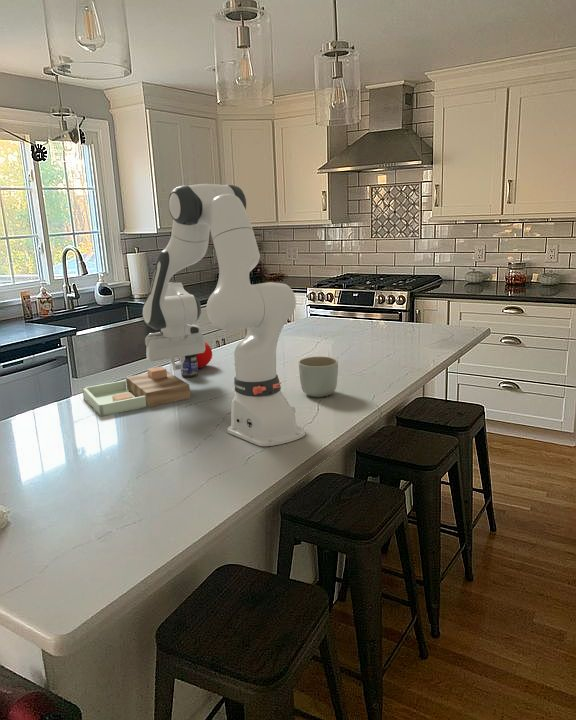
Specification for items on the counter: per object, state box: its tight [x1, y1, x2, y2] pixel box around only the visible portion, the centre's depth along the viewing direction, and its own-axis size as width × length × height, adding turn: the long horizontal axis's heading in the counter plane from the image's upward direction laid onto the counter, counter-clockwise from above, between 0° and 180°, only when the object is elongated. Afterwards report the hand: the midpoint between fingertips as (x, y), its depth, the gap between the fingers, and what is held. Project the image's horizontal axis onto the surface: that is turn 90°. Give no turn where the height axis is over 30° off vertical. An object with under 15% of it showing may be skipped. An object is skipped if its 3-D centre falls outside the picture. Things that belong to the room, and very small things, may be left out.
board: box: [125, 370, 191, 408], centre depth 195 cm, size 22×14×4 cm, turn 31°
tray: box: [81, 379, 147, 417], centre depth 188 cm, size 22×14×4 cm, turn 31°
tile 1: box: [112, 393, 133, 402], centre depth 185 cm, size 5×5×2 cm
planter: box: [298, 356, 339, 398], centre depth 187 cm, size 12×12×11 cm
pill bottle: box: [180, 354, 199, 378], centre depth 214 cm, size 6×6×11 cm
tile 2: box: [146, 366, 168, 379], centre depth 199 cm, size 5×5×2 cm
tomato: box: [177, 342, 213, 369], centre depth 225 cm, size 12×13×11 cm
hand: (177, 369), depth 203 cm, fingers closed
